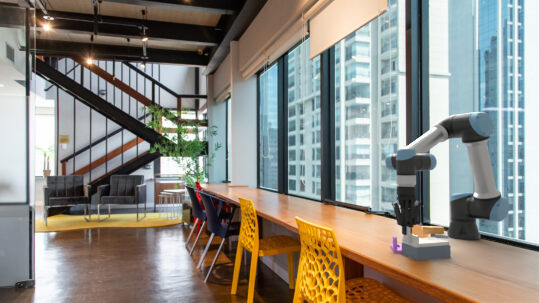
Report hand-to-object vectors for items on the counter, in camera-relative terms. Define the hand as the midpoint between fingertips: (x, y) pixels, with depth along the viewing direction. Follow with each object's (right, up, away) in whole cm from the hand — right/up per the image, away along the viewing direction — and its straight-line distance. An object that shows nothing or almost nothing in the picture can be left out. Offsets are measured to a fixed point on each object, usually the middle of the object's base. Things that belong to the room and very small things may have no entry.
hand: (407, 242), depth 145 cm
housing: (+11, -6, +6) cm, 14 cm away
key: (+18, -6, +13) cm, 23 cm away
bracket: (+1, -7, +13) cm, 14 cm away
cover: (+9, -1, +2) cm, 9 cm away
